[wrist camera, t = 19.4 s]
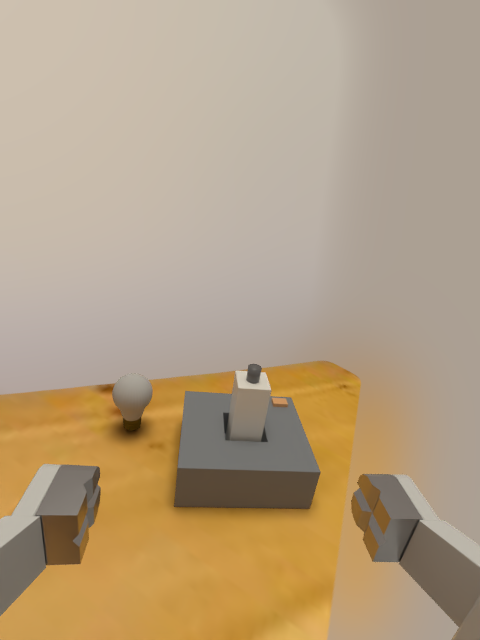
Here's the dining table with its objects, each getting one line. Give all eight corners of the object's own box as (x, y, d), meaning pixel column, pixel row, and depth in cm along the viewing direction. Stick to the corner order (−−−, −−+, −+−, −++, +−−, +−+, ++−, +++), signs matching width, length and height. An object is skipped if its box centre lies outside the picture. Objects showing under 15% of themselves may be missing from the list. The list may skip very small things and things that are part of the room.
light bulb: (158, 427, 55) (161, 375, 52) (130, 447, 50) (131, 392, 47) (133, 412, 58) (134, 362, 54) (104, 430, 53) (103, 376, 49)
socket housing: (174, 506, 42) (177, 464, 40) (182, 423, 57) (185, 388, 54) (309, 508, 45) (321, 468, 42) (284, 427, 60) (291, 394, 57)
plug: (227, 459, 48) (240, 374, 42) (225, 437, 52) (237, 358, 47) (257, 460, 48) (273, 377, 43) (253, 438, 52) (267, 360, 47)
